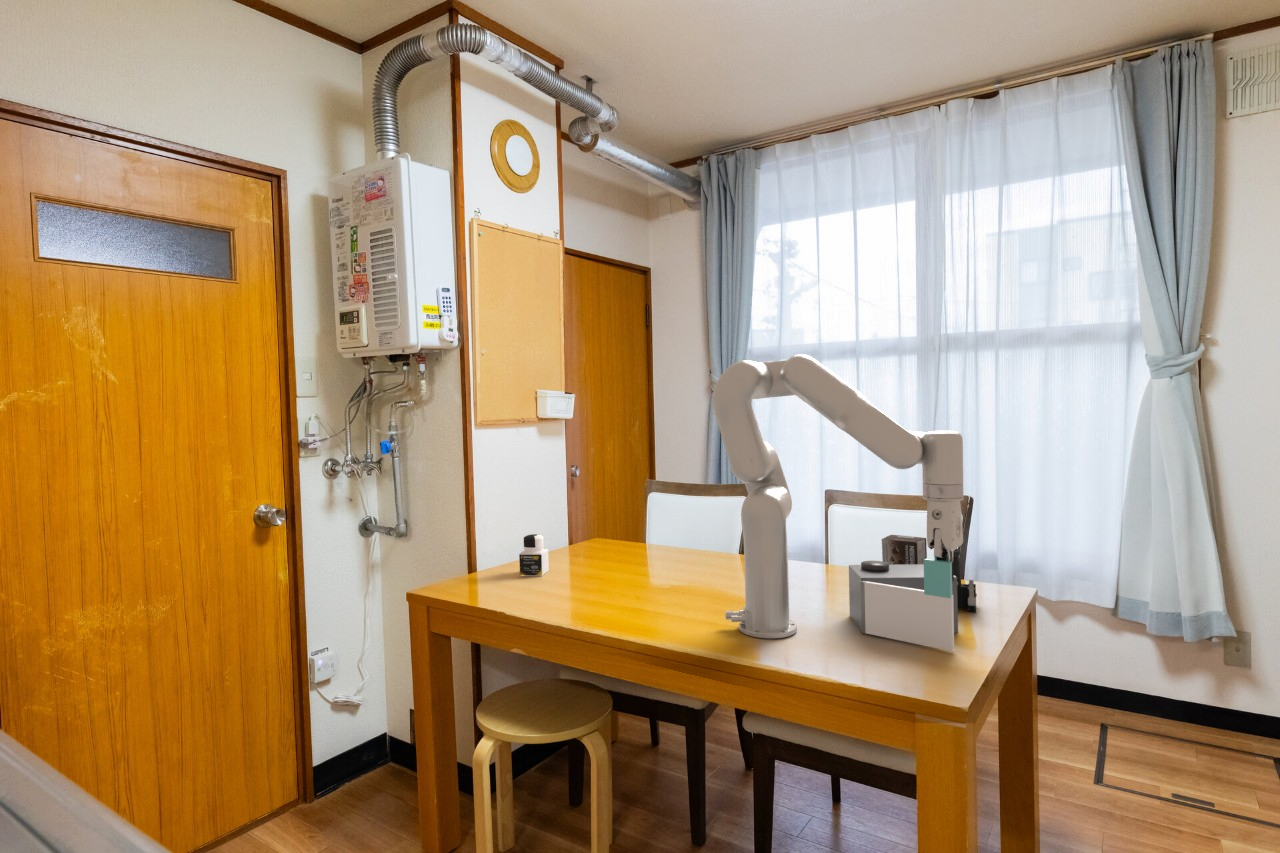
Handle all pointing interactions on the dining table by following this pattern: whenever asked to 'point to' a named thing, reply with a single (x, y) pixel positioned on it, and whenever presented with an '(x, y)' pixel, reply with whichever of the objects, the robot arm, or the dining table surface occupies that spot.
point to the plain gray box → (889, 582)
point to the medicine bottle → (534, 556)
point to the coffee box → (904, 550)
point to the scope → (964, 587)
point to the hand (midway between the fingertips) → (944, 581)
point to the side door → (912, 609)
